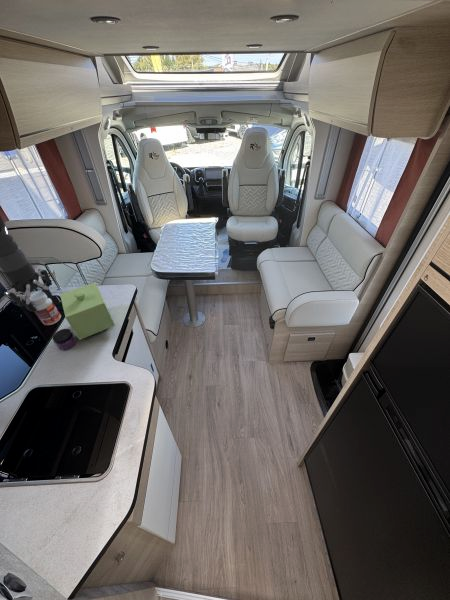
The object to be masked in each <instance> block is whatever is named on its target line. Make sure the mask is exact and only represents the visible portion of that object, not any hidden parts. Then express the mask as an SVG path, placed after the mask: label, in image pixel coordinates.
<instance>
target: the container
mask: <svg viewBox="0 0 450 600" xmlns="http://www.w3.org/2000/svg"><path fill="white" fill-rule="evenodd" d="M59 296H60V299H61V304H62V309H63V313H64V316H65V317H64V318H65V319H66V321H67V323H68V324H69V325H70V328H71V329H72V330H73V333H74V335H76V338H78V340H79V341H80V340H83V339H85V338H88V337H90V336H92V335H95V334H97V333H101V332H102V331H105V330H108V329H110V328H112V327H114V326H116V324H115V322H114V320H113V317H112V315H111V313H110V311H109V309H108V307H107V304H106V301H105V299H104V297H103V295H102V293H101V291H100V288H99V286H98V285H97V282H92V283H89V284H86V285H83V286H80V287H77V288H74V289H70V290H68V291H65V292H62V293H60V294H59Z"/></svg>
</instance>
